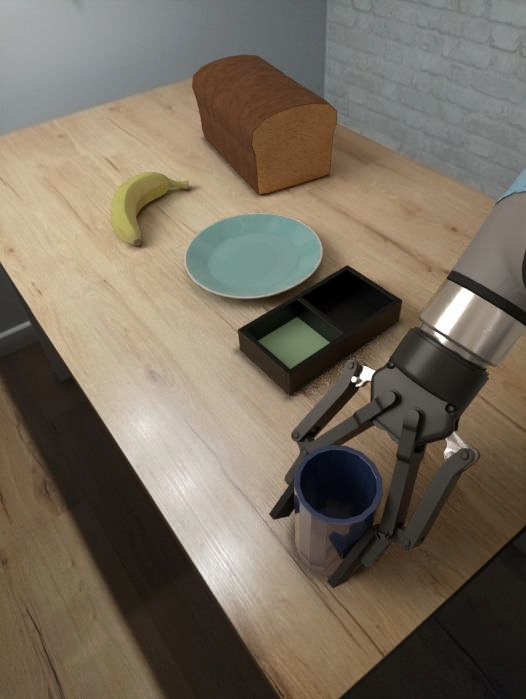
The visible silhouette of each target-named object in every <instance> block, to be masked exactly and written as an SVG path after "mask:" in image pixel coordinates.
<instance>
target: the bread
mask: <svg viewBox="0 0 526 699" xmlns="http://www.w3.org/2000/svg"><path fill="white" fill-rule="evenodd" d="M191 80H192V81H191V88H192V92H193V94H194V97H195V101H196V104H197V109H198V113H199V118H200V123H201V124H200V125H201V130H202V134H203V137H204V138H205V140H206V141H207V142H208V143H209V144H210V145H211V146H212V147H213V148H214V149H215V150H216V151H217V153H218V154H219V155H220V156H221V157H222V158H223V159H224V160H225V161H226V163H228V164H229V165H230V166H231V167H232V169H233V170H234V171H235V172H236V173H237V174H238V175H239V176H240V177H241V178H242V180H244V181H245V182H246V183H247V184H248V185H249V187H250V188H251V189H252V190H253V191H254V192H256V193H257V195H265V194H270V193H274V192H278V191H280V190H283V189H287V188H290V187H294V186H298V185H300V184H304V183H307V182H310V181H314V180H317V179H320V178H321V179H322V178H323V177H325V176H327V175H328V176H329V175H330V171H331V161H332V150H333V143H334V134H335V131H336V127H337V125H338V110H337V109H336V108H335V107H334V106H333V105H332V104H331V103H329V101H327V100H326V99H325V98H323V97H322V96H320V95H318V93H316V92H314V91H312V90H311V89H309V88H307V87H305V86H303V85H302V84H300V83H299V82H297V81H296V80H295V79H293V77H290V76H288V75H286V74H285V72H283V71H282V70H280V69H278V68H277V67H275V66H274V65H272V64H271V63H270V62H268V61H267V60H265V59H264V58H262V57H260V56H259V55H256V54H237V55H230V56H226V57H222V58H219V59H218V58H217V59H215V60H213V61H211V62H209V63H206V64H205V65H202V66H201V67H199V69H198V70H196V72H195V73H194V74H193V75H192V79H191Z"/></svg>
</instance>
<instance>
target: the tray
mask: <svg viewBox="0 0 526 699" xmlns="http://www.w3.org/2000/svg"><path fill="white" fill-rule="evenodd" d="M403 301H404V300H403V299H401V298H400V297H398V296H397V295H395V294H393V293H392V292H391V291H390V290H387V289H386V288H385V287H383V286H381V285H380V284H378V283H376V282H375V281H373V280H372V279H370V278H369V277H367V276H366V275H364V274H363V273H361V272H359V271H358V270H356V269H355V268H353V267H351V266H350V265H348V264H347V265H345V266H343V267H341V268H339V269H338V270H336V271H334V272H332V273H331V274H329V275H327V276H326V277H324V278H322V279H321V280H319V281H317V282H315V283H314V284H312V285H311V286H309V287H307V288H306V289H304V290H302V291H301V292H298V293H297V294H295V295H294V296H292V297H290V298H288V299H287V300H285V301H284V302H282V303H280V304H278V305H277V306H275V307H274V308H272V309H270V310H268V311H267V312H265V313H263V314H261V315H260V316H258V317H257V318H254V319H252V320H251V321H249V322H248V323H246V324H245V325H243V326H241V327H239V328H237V335H238V336H237V337H238V343H239V344H238V345H239V351H240V352H241V353H243V355H244V356H245V357H247V358H248V359H249V360H250V361H251V362H252V363H253V364H254V365H255V366H256V367H257V368H259V370H261V371H262V372H263V373H264V374H265V375H266V376H267V377H269V379H271V380H272V381H273V382H274V383H275V384H276V385H277V386H278V387H279V388H280V389H281V390H282V391H284V393H286V395H288V396H289V397H291V396H292V395H294V394H296V393H297V392H299V391H301V389H303V388H304V387H306V386H307V385H309V384H310V383H312V382H313V381H315V380H316V379H317V378H319V377H320V376H321V375H323V374H324V373H326V372H328V371H329V370H330V369H332V368H333V367H335V366H336V365H338V364H339V363H341V362H342V361H344V360H345V359H346V358H348V357H350V356H351V355H352V354H354V353H355V352H356V351H358V350H360V349H361V348H363V347H364V346H365V345H367V344H368V343H370V342H371V341H373V340H375V338H377V337H379V336H380V335H381V334H383V333H385V332H386V331H387V330H389V329H390V328H392V327H393V326H394V325H396V324H397V323H398V322H399V321H400V317H401V311H402V306H403Z"/></svg>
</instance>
